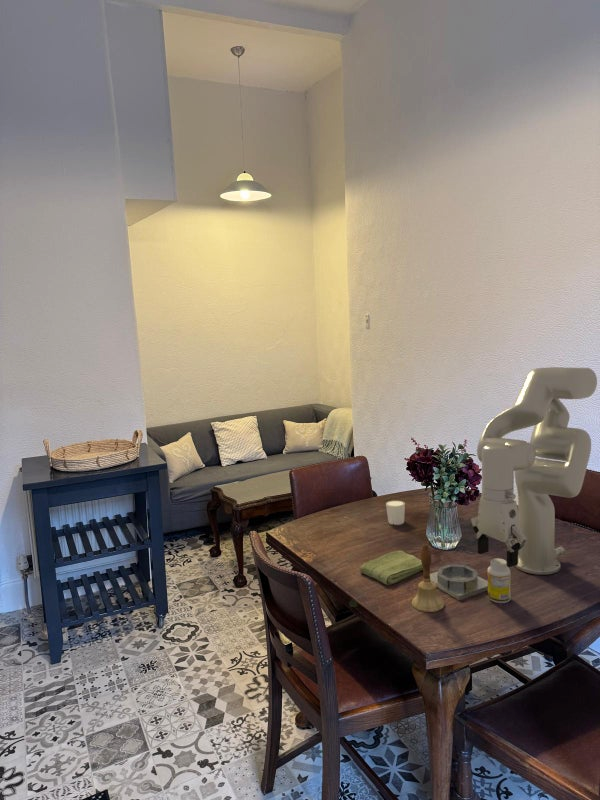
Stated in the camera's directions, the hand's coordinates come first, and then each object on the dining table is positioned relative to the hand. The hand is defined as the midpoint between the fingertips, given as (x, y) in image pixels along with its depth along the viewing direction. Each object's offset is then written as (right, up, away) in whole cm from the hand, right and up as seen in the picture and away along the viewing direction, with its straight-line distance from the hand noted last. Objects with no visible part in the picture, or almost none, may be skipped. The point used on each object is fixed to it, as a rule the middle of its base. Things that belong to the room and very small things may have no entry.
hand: (497, 559), depth 144 cm
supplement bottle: (+1, -11, +2) cm, 11 cm away
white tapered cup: (-15, -4, +61) cm, 63 cm away
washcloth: (-23, -10, +22) cm, 33 cm away
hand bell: (-17, -12, +2) cm, 21 cm away
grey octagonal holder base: (-7, -10, +11) cm, 17 cm away
